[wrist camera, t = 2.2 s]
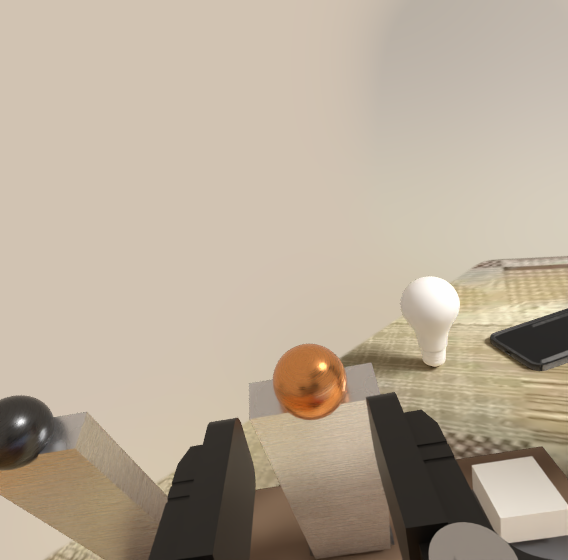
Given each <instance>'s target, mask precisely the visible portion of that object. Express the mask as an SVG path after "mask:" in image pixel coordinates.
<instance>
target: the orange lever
mask: <svg viewBox="0 0 568 560" xmlns="http://www.w3.org/2000/svg"><path fill="white" fill-rule="evenodd" d="M374 395H380V391H379V387H378V384H377V380H376V377H375V373H374V370H373V366H372V363H366V364H360V365H354V366H348V367H344V366H343V364H342V362H341V361H340V359H339V358H338V357H337V356H336V355H335V354H334V353H333V352H332V351H330V350H329V349H327V348H325V347H323V346H320V345H316V344H302V345H299V346H296V347H294V348H292V349H290V350H288V351H287V352H286V353H285V354H284V355H283V356H282V357H281V358H280V360H279V361H278V363H277V365H276V367H275V370H274V374H273V379H272V380H267V381H262V382H255V383H250V384H249V419H250V421H251V424H252V426H253V428H254V430H255V432H256V434H257V436H258V438H259V441H260V443H261V445H262V447H263V449H264V451H265V453H266V455H267V457H268V460H269V462H270V464H271V466H272V468H273V470H274V472H275V474H276V477H277V479H278V481H279V483H280V485H281V487H282V489H283V491H284V493H285V496H286V498H287V500H288V502H289V504H290V506H291V508H292V510H293V512H294V515H295V517H296V519H297V521H298V523H299V525H300V527H301V529H302V532H303V534H304V536H305V538H306V540H307V542H308V545H309V551H310V556H314V557H315V559H319V558H326V557H334V556H341V555H348V554H356V553H363V552H370V551H377V550H385V549H391V545H395V544H394V538H393V533H392V529H391V526H390V524H389V511H388V503H387V500H386V496H385V492H384V489H383V485H382V481H381V477H380V474H379V470H378V466H377V461H376V457H375V452H374V447H373V441H372V435H371V429H370V422H369V416H368V410H367V403H366V397H368V396H374Z"/></svg>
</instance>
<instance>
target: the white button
mask: <svg viewBox="0 0 568 560" xmlns="http://www.w3.org/2000/svg"><path fill="white" fill-rule="evenodd" d="M472 480H473V490H474V492H475V494H476V496H477V498H478V500H479V502H480V504H481V506H482V508H483V510H484V512H485V514H486V516H487V518H488V519H489V521H490V523H491V525H492V527H493V529H494V531H495V532H496V533H497V534H498V535H499V536H500V537H502V538H503V539H504V540H505V541H506V542H508V543H513V542H521V541H528V540H535V539H543V538H550V537H558V536H565V535H568V504H567V503H566V501H565V500H564V499H563V497H562V496H561V495H560V493H559V492H558V491H557V489H556V488H555V486H554V485H553V484H552V482H551V481H550V480H549V478H548V477H547V476H546V474H545V473H544V472H543V470H542V469H541V467H540V466H539V465H538V463H537V462H536V461H535V459H534V458H533V457H532V456H530V457H523V458H517V459H510V460H503V461H497V462H490V463H483V464H477V465H472Z"/></svg>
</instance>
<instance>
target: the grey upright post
mask: <svg viewBox="0 0 568 560" xmlns="http://www.w3.org/2000/svg"><path fill="white" fill-rule="evenodd" d="M0 495H1V496H3V497H5V498H6V499H8V500H9V501H11V502H13V503H14V504H16V505H17V506H19V507H21V508H22V509H24V510H26V511H27V512H29V513H30V514H32V515H34V516H35V517H37V518H38V519H40V520H42V521H43V522H45V523H47V524H48V525H50V526H51V527H53V528H55V529H56V530H58V531H59V532H61V533H63V534H64V535H66V536H67V537H69V538H71V539H72V540H74V541H76V542H77V543H79V544H80V545H82V546H84V547H85V548H87V549H88V550H90V551H92V552H93V553H95V554H97V555H98V556H100V557H101V558H103V559H105V560H148V558H149V555H150V552H151V549H152V545H153V542H154V539H155V536H156V533H157V529H158V526H159V523H160V520H161V517H162V513H163V510H164V507H165V504H166V503H167V497H168V496H167V495H166V494H165V493H164V492H163V491H162V490H161V489H160V488H159V487H158V486H157V485H156V484H155V483H154V482H153V481H152V480H151V479H150V478H149V476H148V475H147V474H146V473H145V472H144V471H143V470H142V469H141V468H140V467H139V466H138V465H137V464H136V463H135V462H134V461H133V460H132V459H131V458H130V456H128V454H126V452H125V451H124V450H123V449H122V448H121V447H120V446H119V445H118V444H117V443H116V442H115V441H114V440H113V439H112V438H111V436H110V435H109V434H108V433H107V432H106V431H105V430H104V429H103V428H102V427H101V426H100V425H99V424H98V423H97V422H96V421H95V420H94V419H93V418H92V417H91V416H90V415H89V413H88V412H83V413H77V414H71V415H66V416H59V417H53V415H52V413H51V411H50V409H49V408H48V407H47V406H46V405H45V404H44V403H43V402H41V401H40V400H38V399H36V398H33V397H30V396H11V397H7V398H4V399H1V400H0Z"/></svg>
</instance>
